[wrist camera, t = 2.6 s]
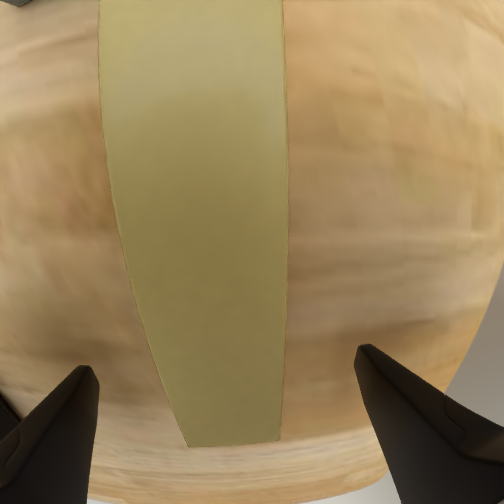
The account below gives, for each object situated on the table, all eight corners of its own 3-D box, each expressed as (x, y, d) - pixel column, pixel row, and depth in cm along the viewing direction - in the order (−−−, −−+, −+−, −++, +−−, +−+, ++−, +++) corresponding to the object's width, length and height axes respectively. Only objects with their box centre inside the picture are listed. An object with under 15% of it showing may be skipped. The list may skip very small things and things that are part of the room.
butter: (267, 376, 12) (280, 441, 9) (190, 382, 12) (188, 448, 9) (256, -22, 6) (276, -79, 3) (139, -12, 6) (105, -61, 3)
